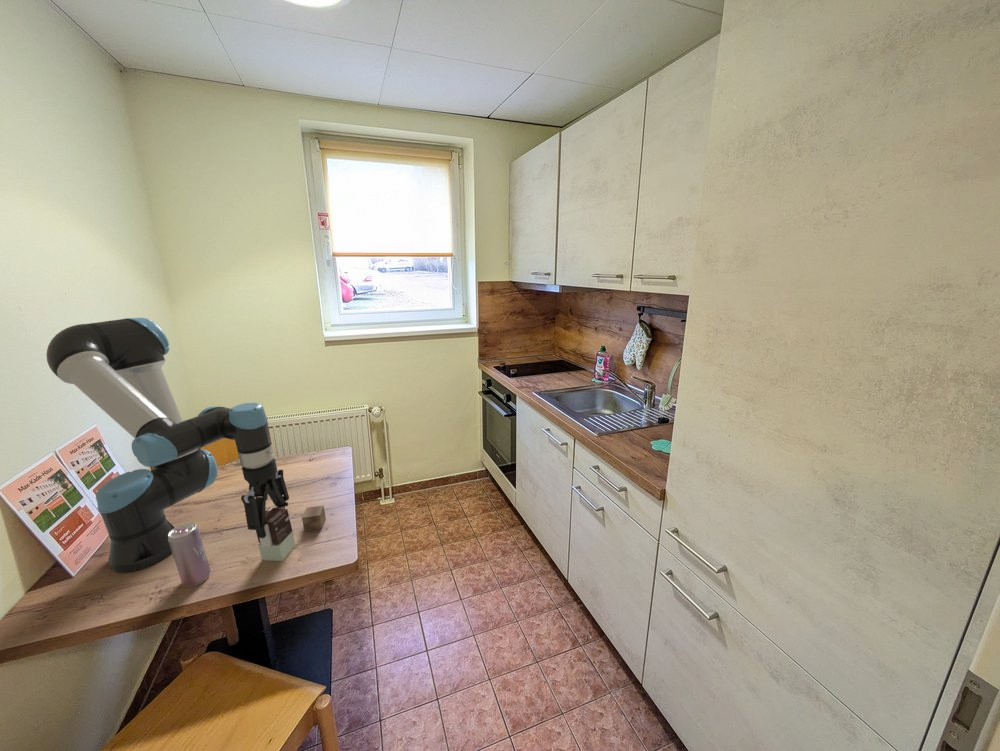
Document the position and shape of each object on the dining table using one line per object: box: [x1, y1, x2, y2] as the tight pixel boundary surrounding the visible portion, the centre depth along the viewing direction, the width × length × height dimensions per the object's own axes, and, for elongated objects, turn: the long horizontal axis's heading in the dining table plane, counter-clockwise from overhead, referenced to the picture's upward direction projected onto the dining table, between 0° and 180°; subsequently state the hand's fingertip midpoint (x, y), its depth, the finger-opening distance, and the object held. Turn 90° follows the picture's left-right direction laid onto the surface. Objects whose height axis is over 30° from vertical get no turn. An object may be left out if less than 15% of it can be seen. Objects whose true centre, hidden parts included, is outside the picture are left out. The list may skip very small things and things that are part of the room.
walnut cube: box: [301, 505, 327, 532], centre depth 119 cm, size 5×5×5 cm
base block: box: [258, 530, 296, 562], centre depth 108 cm, size 6×6×5 cm
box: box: [255, 507, 293, 545], centre depth 106 cm, size 6×6×7 cm
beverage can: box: [168, 522, 211, 588], centre depth 98 cm, size 6×6×15 cm
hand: (275, 535), depth 107 cm, fingers closed on box, 6 cm apart
